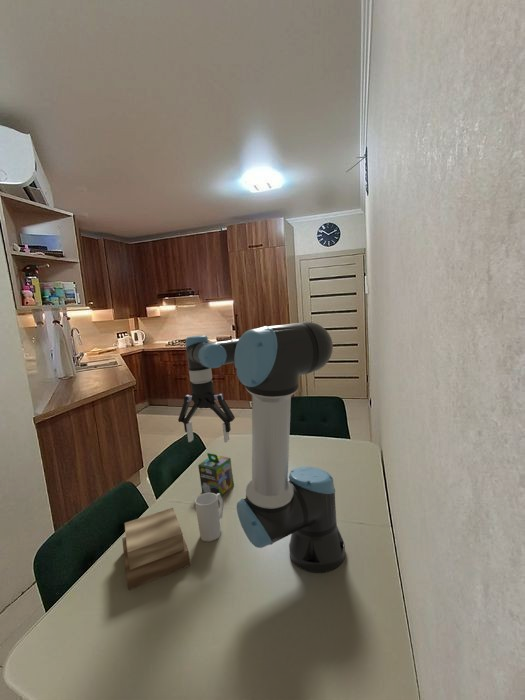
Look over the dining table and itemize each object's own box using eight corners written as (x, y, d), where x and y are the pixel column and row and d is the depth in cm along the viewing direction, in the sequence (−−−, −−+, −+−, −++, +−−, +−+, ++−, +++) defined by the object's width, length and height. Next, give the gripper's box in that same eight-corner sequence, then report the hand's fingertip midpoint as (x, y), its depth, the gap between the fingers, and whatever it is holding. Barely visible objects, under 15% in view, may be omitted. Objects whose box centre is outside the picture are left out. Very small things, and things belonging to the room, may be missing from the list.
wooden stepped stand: (190, 567, 95) (188, 550, 94) (128, 591, 88) (125, 574, 87) (178, 534, 109) (176, 519, 108) (124, 553, 102) (122, 538, 102)
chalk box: (234, 485, 134) (230, 449, 132) (219, 498, 127) (215, 459, 125) (216, 481, 139) (212, 446, 137) (200, 492, 132) (196, 455, 130)
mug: (210, 545, 102) (206, 507, 100) (194, 537, 106) (190, 501, 104) (232, 526, 110) (229, 490, 108) (217, 519, 114) (213, 485, 112)
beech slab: (184, 549, 94) (182, 533, 94) (130, 569, 89) (127, 552, 88) (174, 522, 107) (173, 507, 106) (126, 538, 101) (124, 522, 101)
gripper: (239, 377, 118) (246, 436, 121) (174, 380, 125) (181, 436, 127) (232, 382, 111) (239, 445, 113) (163, 384, 118) (171, 444, 120)
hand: (208, 440), depth 120 cm, fingers open, 13 cm apart
